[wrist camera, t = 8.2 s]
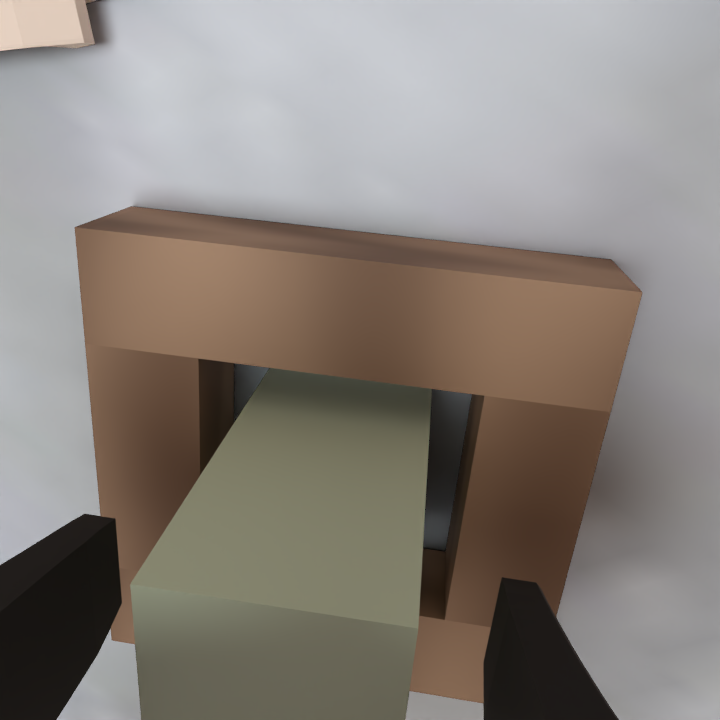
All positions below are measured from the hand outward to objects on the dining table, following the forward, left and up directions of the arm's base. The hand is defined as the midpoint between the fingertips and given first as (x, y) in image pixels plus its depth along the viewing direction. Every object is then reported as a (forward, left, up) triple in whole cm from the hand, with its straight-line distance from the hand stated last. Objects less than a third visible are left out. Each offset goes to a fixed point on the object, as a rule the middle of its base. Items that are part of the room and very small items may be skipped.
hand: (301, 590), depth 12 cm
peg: (0, 0, -5) cm, 5 cm away
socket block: (0, 0, -5) cm, 5 cm away
